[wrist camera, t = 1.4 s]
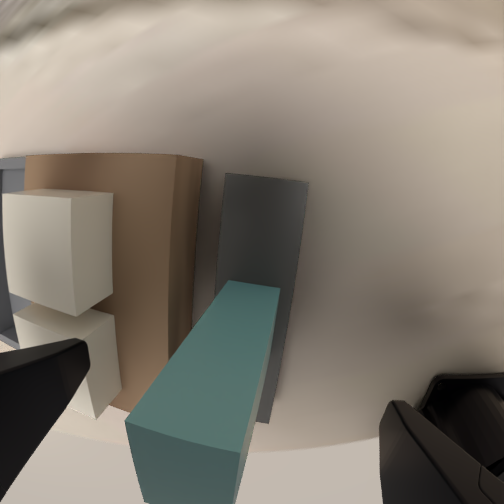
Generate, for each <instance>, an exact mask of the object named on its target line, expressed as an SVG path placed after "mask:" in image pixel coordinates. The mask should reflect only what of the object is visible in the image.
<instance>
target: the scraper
mask: <svg viewBox="0 0 504 504" xmlns="http://www.w3.org/2000/svg"><path fill="white" fill-rule="evenodd" d="M308 184H309V183H308V182H301V181H293V180H286V179H278V178H269V177H261V176H252V175H242V174H231V173H226V174H225V184H224V193H223V204H222V214H221V225H220V236H219V247H218V259H217V271H216V284H215V297H214V300H213V302H212V303H211V304H210V306H209V307H208V308H207V310H206V311H205V313H204V314H203V315H202V317H201V318H200V319H199V321H198V322H197V323H196V325H195V326H194V327H193V329H192V330H191V331H190V333H189V334H188V336H187V337H186V338H185V340H184V341H183V342H182V344H181V345H180V346H179V348H178V349H177V350H176V352H175V353H174V354H173V356H172V357H171V359H170V360H169V361H168V363H167V364H166V365H165V367H164V368H163V369H162V371H161V372H160V373H159V375H158V376H157V377H156V379H155V380H154V382H153V383H152V384H151V386H150V387H149V388H148V390H147V391H146V392H145V394H144V395H143V396H142V398H141V399H140V401H139V402H138V403H137V405H136V406H135V407H134V409H133V410H132V411H131V413H130V414H129V415H128V417H127V418H126V420H125V426H126V431H127V435H128V440H129V445H130V449H131V453H132V458H133V462H134V466H135V470H136V474H137V477H138V481H139V485H140V488H141V492H142V495H143V499H144V502H146V503H149V504H235V502H236V498H237V494H238V490H239V486H240V483H241V478H242V475H243V471H244V466H245V462H246V459H247V455H248V450H249V446H250V442H251V438H252V434H253V429H254V425H255V422H261V423H267V424H269V420H270V415H271V410H272V406H273V401H274V396H275V391H276V386H277V381H278V375H279V370H280V365H281V360H282V354H283V349H284V343H285V338H286V332H287V326H288V320H289V315H290V309H291V303H292V296H293V290H294V284H295V278H296V271H297V265H298V258H299V251H300V244H301V237H302V230H303V223H304V216H305V208H306V200H307V192H308Z"/></svg>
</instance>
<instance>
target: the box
mask: <svg viewBox="0 0 504 504" xmlns="http://www.w3.org/2000/svg"><path fill="white" fill-rule="evenodd" d="M25 162H26V157H15V158H3V159H0V340H1V341H2V342H4V343H6V344H8V345H9V346H11V347H13V348H15V349H17V350H18V349H20V345H19V341H18V336H17V332H16V327H15V322H14V317H13V314H14V313H16V312H18V311H20V310H22V309H24V308H25V307H27V306H29V305H31V301H30V300H28V299H25V298H22V297H20V296H17V295H15V294H12V293H10V292H9V287H8V280H7V272H6V263H5V252H4V238H3V214H2V194H4V193H11V192H19V191H24V181H25Z"/></svg>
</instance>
